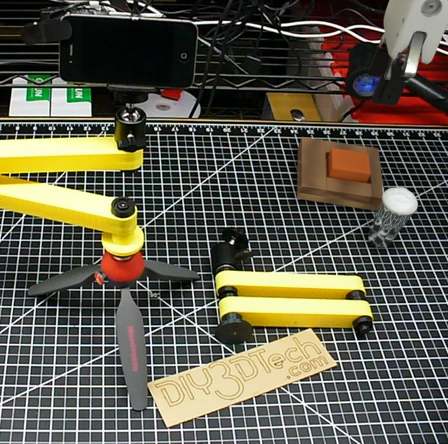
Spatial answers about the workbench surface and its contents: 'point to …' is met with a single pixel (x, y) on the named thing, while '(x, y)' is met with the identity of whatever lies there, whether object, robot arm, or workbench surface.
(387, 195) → the milkshake
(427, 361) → the workbench surface
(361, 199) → the wooden tray
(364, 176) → the orange block
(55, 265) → the workbench surface
